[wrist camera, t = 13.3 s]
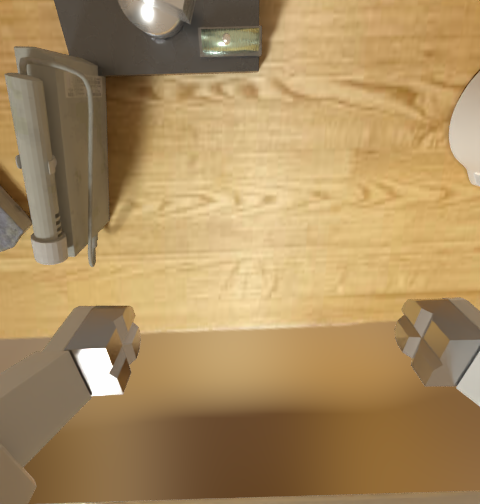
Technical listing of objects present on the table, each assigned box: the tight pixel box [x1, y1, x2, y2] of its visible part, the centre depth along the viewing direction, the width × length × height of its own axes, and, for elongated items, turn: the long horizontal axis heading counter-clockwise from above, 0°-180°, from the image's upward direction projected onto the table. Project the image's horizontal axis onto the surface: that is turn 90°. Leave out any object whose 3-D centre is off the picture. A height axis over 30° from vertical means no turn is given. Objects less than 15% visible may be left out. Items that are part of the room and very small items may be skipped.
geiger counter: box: [5, 46, 110, 267], centre depth 31 cm, size 14×6×25 cm
